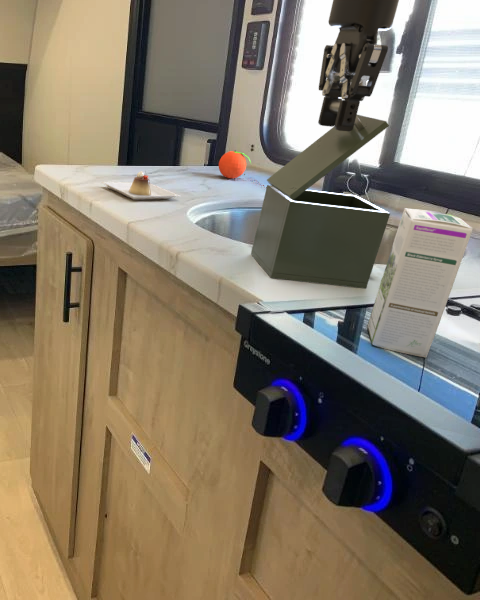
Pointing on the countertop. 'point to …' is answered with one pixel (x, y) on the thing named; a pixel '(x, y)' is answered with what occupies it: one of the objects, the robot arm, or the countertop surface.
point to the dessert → (140, 189)
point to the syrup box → (417, 280)
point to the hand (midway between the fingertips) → (334, 127)
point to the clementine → (232, 164)
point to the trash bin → (319, 237)
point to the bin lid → (325, 154)
